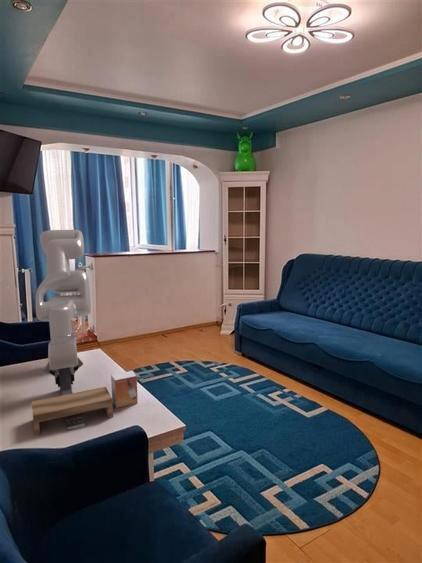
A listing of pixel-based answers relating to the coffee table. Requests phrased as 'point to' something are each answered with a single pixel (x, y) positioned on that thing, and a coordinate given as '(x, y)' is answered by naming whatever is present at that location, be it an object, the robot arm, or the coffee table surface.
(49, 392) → the coffee table surface
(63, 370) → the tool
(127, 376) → the small box
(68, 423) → the token
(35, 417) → the bench
